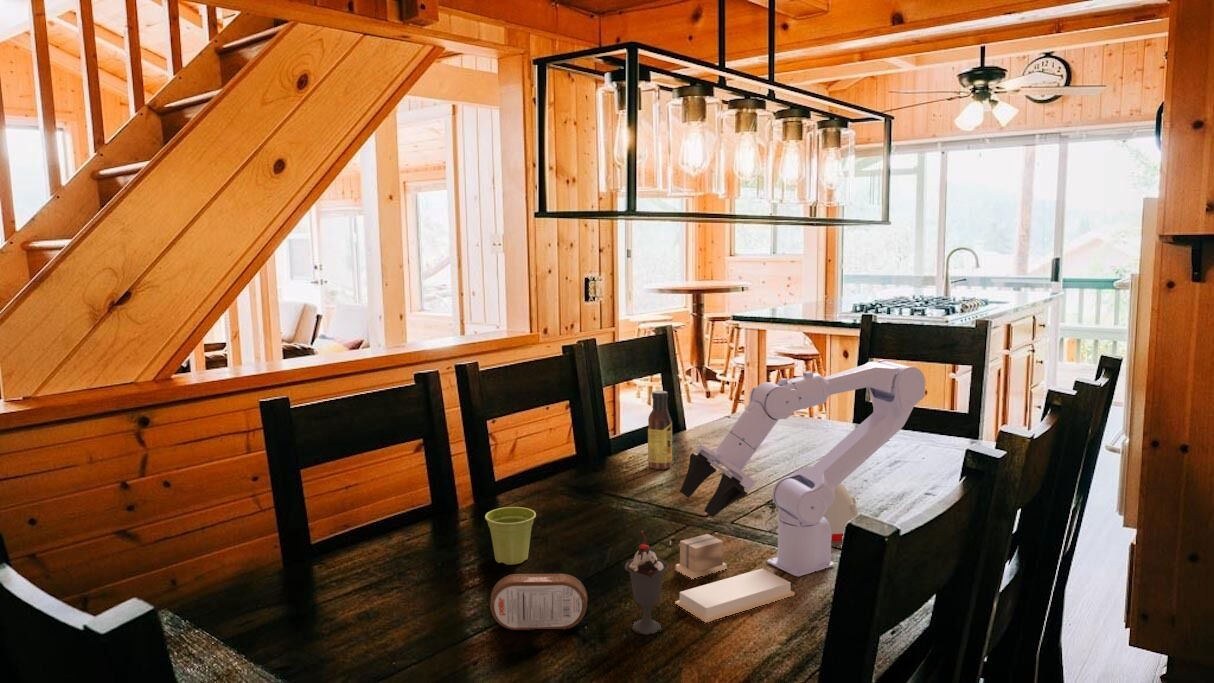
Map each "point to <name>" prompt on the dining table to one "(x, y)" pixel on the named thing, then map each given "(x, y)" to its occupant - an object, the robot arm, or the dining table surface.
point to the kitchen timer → (840, 511)
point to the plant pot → (510, 533)
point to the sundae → (646, 584)
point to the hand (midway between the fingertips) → (695, 504)
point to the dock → (734, 594)
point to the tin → (538, 601)
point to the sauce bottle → (659, 433)
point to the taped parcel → (701, 556)
